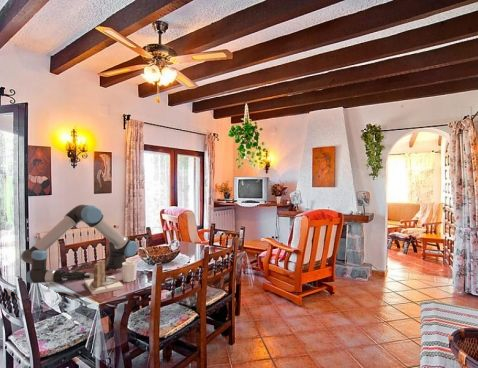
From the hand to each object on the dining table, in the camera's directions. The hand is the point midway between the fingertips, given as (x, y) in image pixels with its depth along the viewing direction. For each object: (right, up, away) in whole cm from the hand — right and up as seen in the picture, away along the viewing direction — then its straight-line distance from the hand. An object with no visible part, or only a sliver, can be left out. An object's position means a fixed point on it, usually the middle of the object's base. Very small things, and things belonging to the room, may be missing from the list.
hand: (96, 275), depth 178 cm
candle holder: (+13, -10, +21) cm, 26 cm away
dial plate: (0, -9, +9) cm, 13 cm away
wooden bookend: (+1, -7, +6) cm, 9 cm away
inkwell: (-23, -9, +24) cm, 35 cm away
